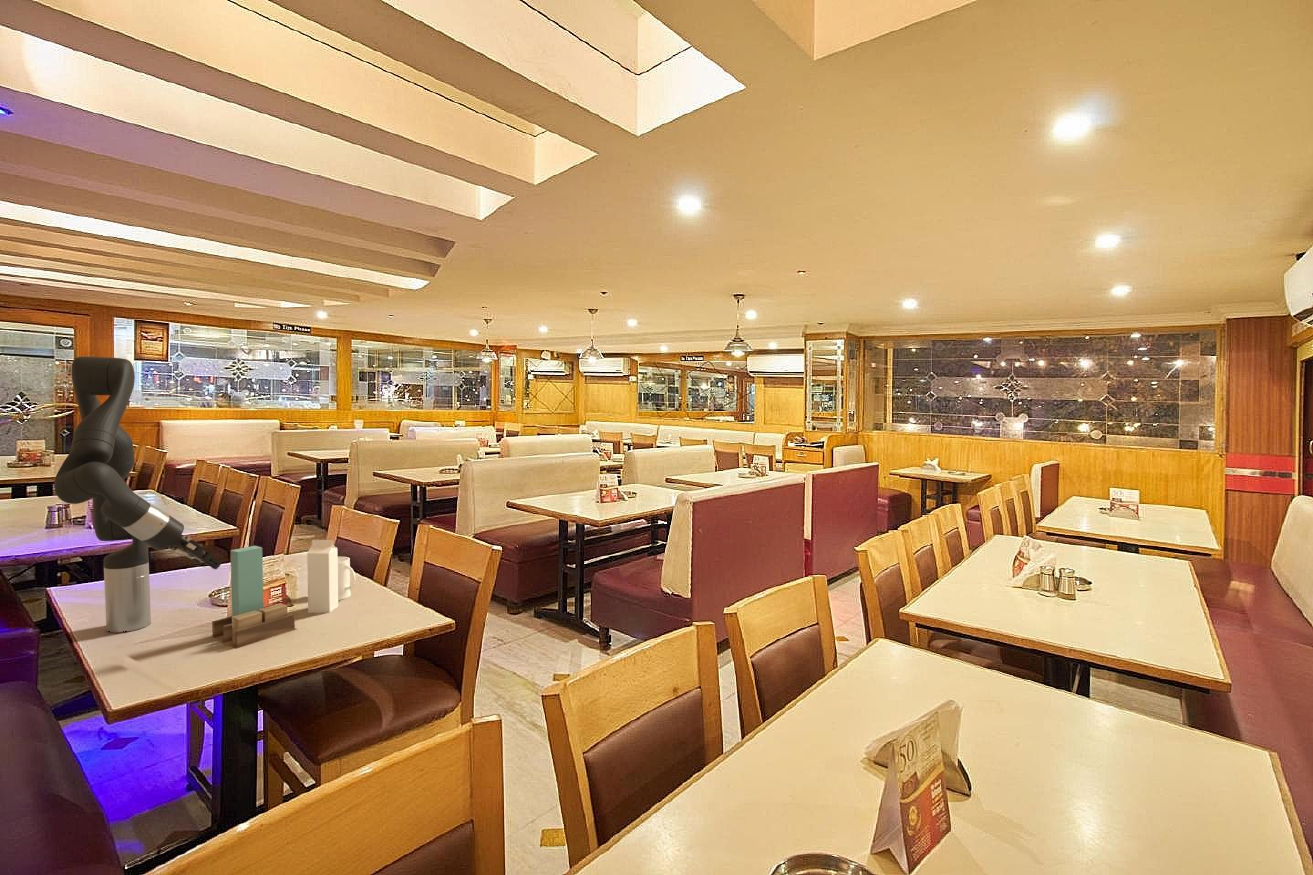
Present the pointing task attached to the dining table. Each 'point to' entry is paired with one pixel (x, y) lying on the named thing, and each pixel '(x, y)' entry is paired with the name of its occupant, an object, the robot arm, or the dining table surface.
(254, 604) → the teal rectangular block
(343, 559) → the mug
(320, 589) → the milk
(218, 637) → the rack
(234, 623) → the offcut
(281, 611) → the offcut
